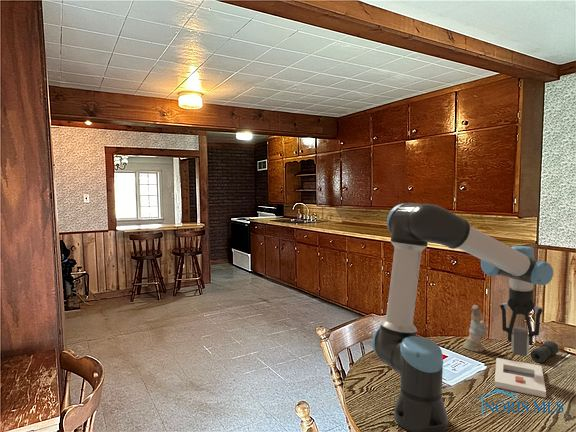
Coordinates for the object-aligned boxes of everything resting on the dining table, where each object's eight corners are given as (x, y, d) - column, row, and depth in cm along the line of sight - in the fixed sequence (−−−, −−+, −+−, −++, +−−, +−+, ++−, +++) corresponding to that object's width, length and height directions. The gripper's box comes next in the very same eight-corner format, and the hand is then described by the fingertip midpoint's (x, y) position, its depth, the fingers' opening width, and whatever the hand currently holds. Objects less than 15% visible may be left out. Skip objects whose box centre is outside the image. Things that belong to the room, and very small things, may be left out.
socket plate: (545, 397, 128) (546, 389, 127) (494, 386, 135) (494, 379, 135) (541, 371, 147) (541, 363, 146) (496, 362, 154) (496, 355, 154)
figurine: (472, 353, 163) (473, 306, 162) (459, 346, 171) (460, 301, 170) (490, 351, 165) (491, 305, 163) (477, 344, 173) (478, 299, 172)
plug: (526, 356, 138) (527, 333, 138) (513, 354, 140) (514, 331, 140) (525, 348, 145) (526, 326, 145) (513, 346, 147) (513, 324, 147)
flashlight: (544, 365, 152) (544, 352, 151) (528, 360, 156) (529, 347, 156) (558, 355, 161) (559, 342, 161) (544, 351, 165) (544, 338, 165)
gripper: (548, 288, 140) (546, 352, 141) (494, 284, 148) (493, 343, 150) (550, 293, 133) (548, 360, 135) (494, 288, 142) (493, 350, 143)
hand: (519, 351), depth 142 cm, fingers closed on plug, 4 cm apart
